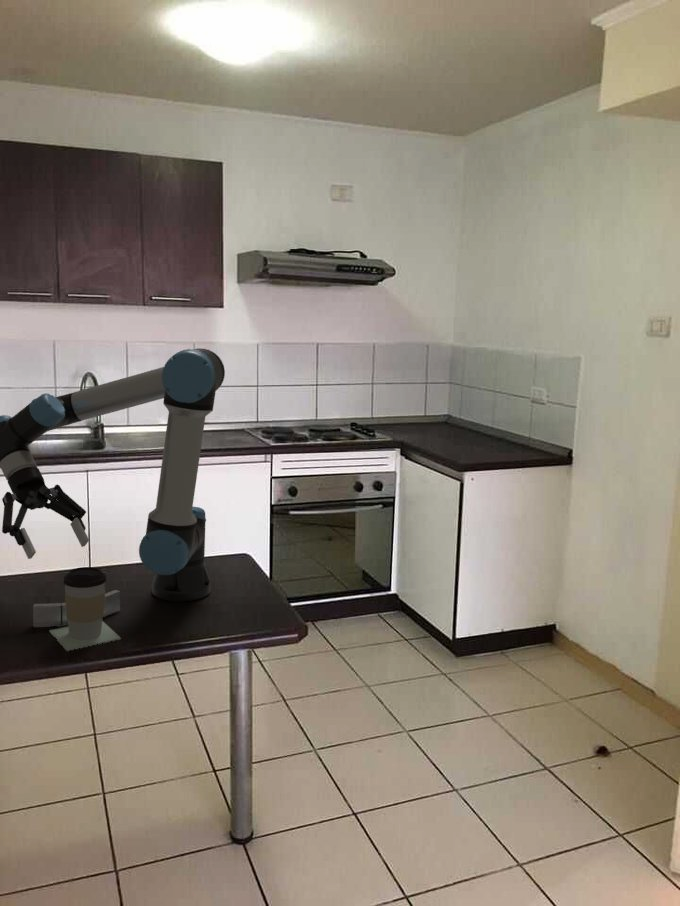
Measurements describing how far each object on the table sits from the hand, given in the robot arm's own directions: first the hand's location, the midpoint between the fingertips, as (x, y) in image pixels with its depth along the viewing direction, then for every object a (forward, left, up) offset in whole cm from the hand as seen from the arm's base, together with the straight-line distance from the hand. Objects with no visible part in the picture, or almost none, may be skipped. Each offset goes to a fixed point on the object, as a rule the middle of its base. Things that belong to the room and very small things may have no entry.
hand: (59, 549), depth 175 cm
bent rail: (-4, -1, -18) cm, 19 cm away
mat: (-2, +9, -18) cm, 20 cm away
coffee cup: (-3, +9, -18) cm, 20 cm away
